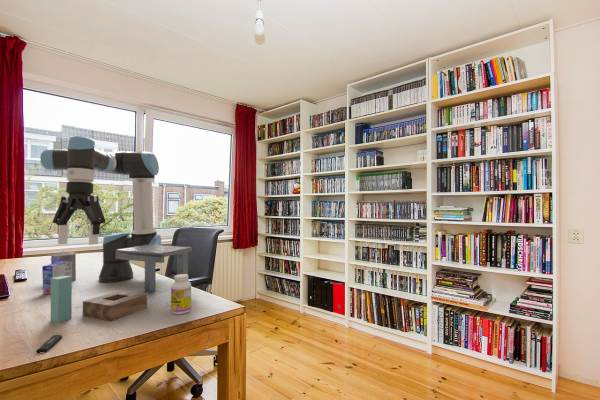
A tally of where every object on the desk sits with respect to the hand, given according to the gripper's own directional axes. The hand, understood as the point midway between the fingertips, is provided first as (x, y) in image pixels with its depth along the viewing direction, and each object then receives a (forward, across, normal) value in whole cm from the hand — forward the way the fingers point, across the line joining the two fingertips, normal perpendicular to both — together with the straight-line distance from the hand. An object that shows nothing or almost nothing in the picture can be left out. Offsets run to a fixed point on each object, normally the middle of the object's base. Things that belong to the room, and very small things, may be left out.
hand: (77, 244), depth 104 cm
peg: (+25, -4, -2) cm, 25 cm away
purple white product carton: (+22, -54, +37) cm, 69 cm away
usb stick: (+26, +12, -16) cm, 33 cm away
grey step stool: (+23, +9, +26) cm, 36 cm away
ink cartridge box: (+23, -40, +23) cm, 51 cm away
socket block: (+24, +7, +9) cm, 27 cm away
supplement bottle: (+25, +30, +15) cm, 42 cm away
